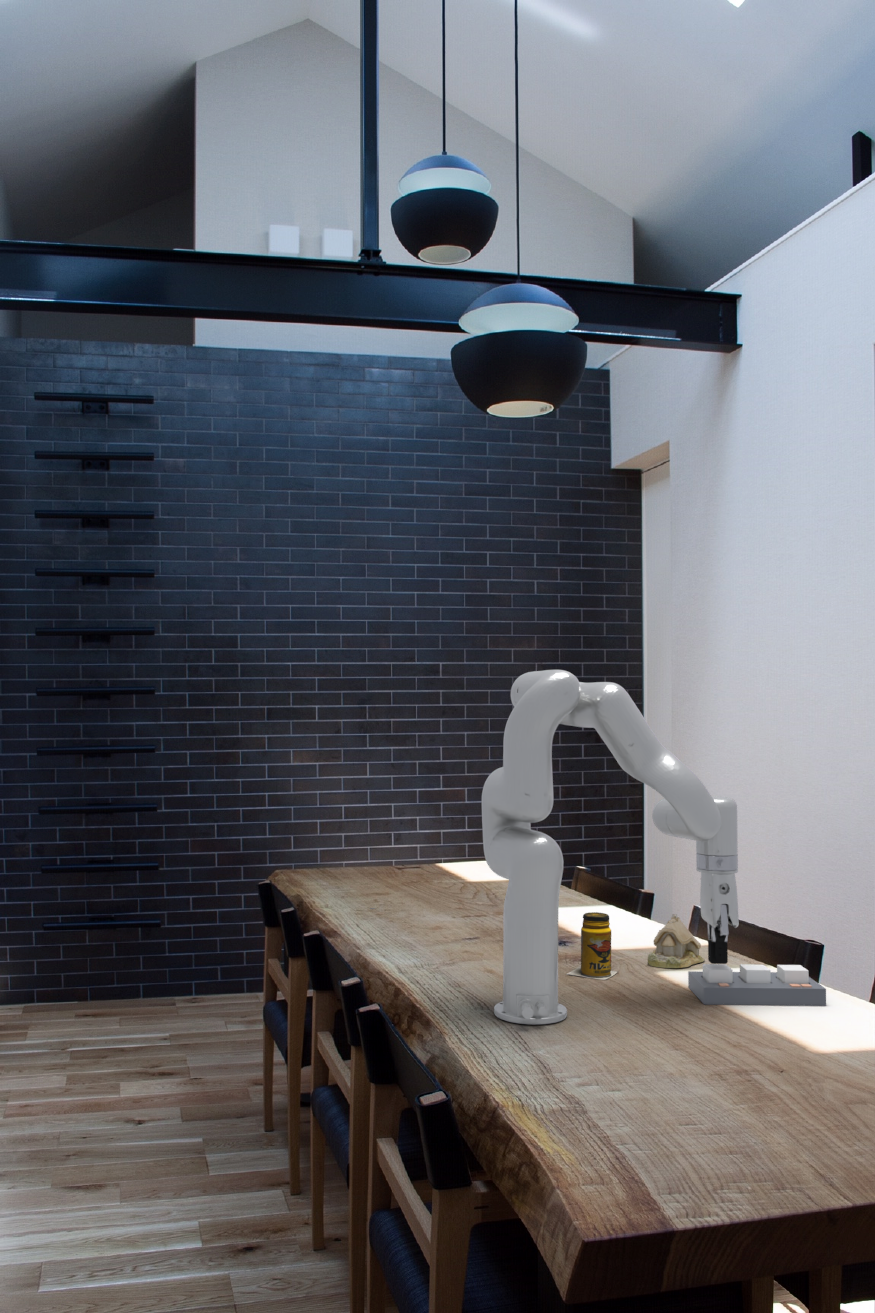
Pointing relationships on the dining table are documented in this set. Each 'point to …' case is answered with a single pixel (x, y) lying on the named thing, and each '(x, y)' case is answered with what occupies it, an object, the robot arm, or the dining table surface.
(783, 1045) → the dining table surface
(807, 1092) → the dining table surface
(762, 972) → the key
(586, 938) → the condiment
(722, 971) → the key
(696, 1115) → the dining table surface
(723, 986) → the keypad
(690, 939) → the ceramic model
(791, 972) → the key
